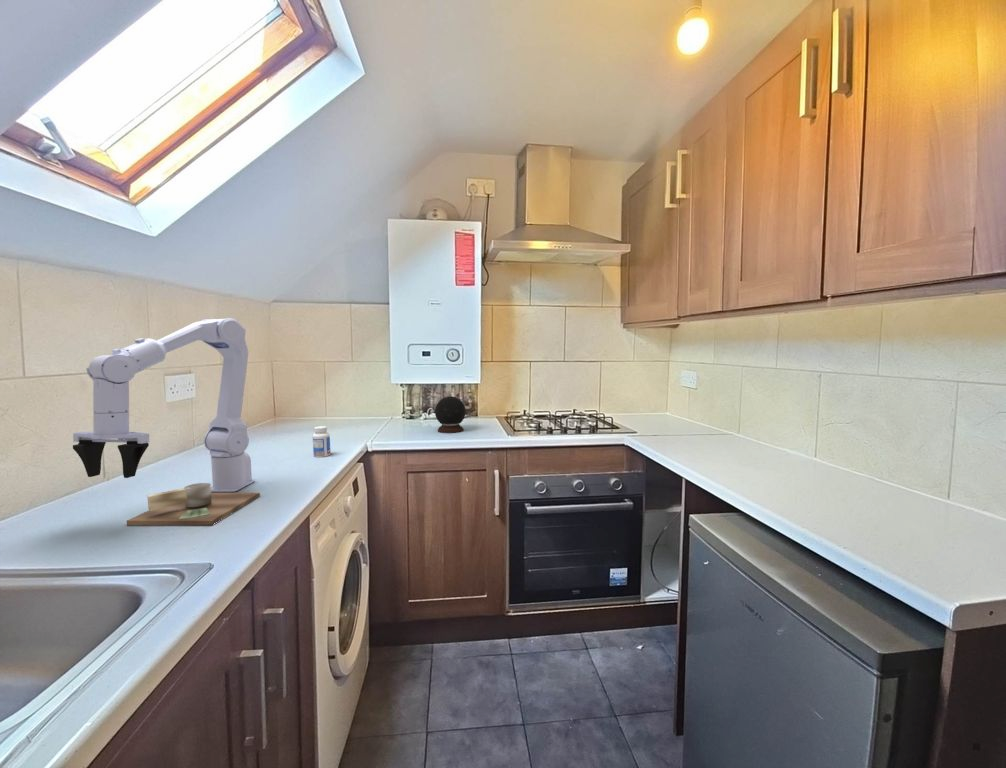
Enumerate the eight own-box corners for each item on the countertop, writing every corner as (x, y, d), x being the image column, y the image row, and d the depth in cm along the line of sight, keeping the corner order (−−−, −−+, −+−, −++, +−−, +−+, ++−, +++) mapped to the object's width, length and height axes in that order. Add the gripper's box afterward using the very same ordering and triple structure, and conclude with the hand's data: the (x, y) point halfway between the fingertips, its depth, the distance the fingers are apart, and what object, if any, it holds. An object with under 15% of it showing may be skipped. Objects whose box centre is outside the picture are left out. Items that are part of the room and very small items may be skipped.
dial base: (187, 496, 113) (187, 491, 113) (259, 496, 112) (259, 491, 112) (126, 525, 95) (126, 519, 95) (212, 525, 94) (211, 519, 94)
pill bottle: (325, 452, 158) (324, 425, 157) (333, 455, 155) (332, 426, 154) (310, 455, 154) (309, 427, 153) (318, 458, 150) (317, 429, 150)
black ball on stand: (435, 434, 190) (434, 398, 189) (435, 428, 203) (434, 395, 202) (467, 433, 192) (466, 397, 191) (464, 427, 205) (464, 394, 204)
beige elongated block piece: (207, 498, 107) (206, 481, 107) (214, 502, 104) (213, 485, 103) (146, 511, 98) (145, 493, 98) (152, 517, 95) (151, 498, 95)
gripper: (58, 413, 92) (59, 480, 92) (129, 414, 91) (129, 481, 92) (90, 410, 99) (91, 472, 99) (157, 411, 98) (157, 473, 99)
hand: (111, 476), depth 96 cm, fingers open, 7 cm apart
